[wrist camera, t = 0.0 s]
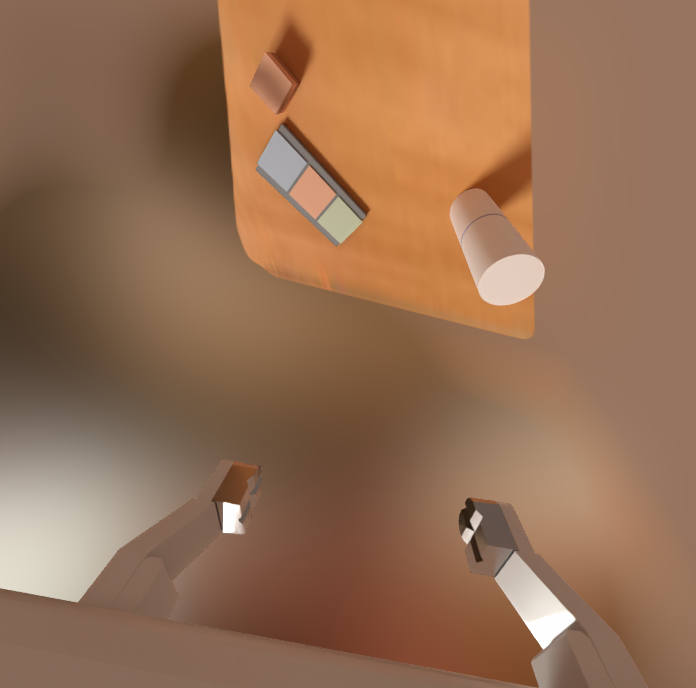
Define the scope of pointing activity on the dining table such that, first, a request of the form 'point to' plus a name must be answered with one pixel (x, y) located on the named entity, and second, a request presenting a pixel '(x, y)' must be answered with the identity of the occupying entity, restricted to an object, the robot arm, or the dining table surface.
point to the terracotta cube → (274, 83)
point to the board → (309, 186)
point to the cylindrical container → (494, 250)
